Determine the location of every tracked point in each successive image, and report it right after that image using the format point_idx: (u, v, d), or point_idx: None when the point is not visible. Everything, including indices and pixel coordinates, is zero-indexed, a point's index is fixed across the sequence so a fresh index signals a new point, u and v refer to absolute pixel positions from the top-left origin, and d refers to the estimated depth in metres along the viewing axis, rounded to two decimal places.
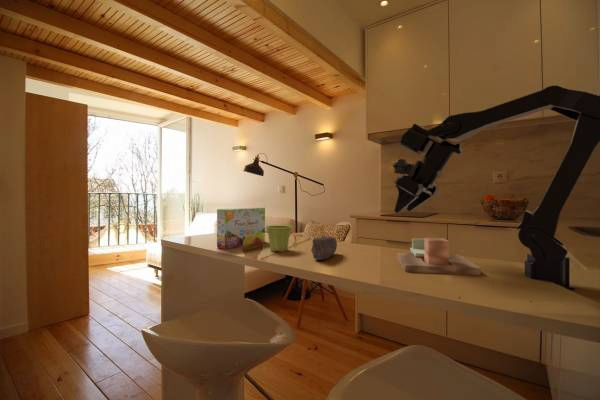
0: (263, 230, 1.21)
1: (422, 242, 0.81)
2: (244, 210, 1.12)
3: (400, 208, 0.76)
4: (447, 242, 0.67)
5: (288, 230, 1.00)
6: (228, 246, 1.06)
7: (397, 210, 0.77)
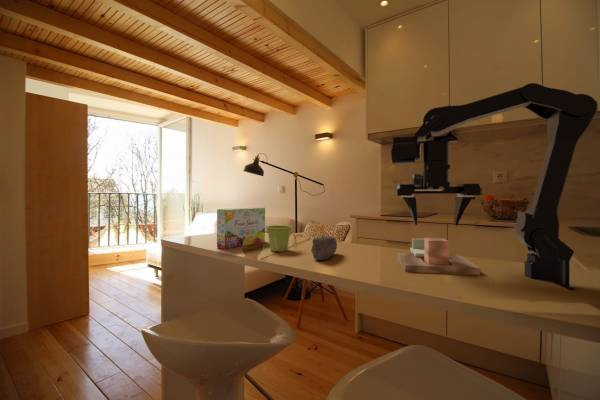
0: (263, 230, 1.20)
1: (422, 242, 0.81)
2: (244, 210, 1.12)
3: (413, 218, 0.70)
4: (447, 242, 0.67)
5: (288, 230, 1.00)
6: (228, 246, 1.06)
7: (414, 222, 0.71)
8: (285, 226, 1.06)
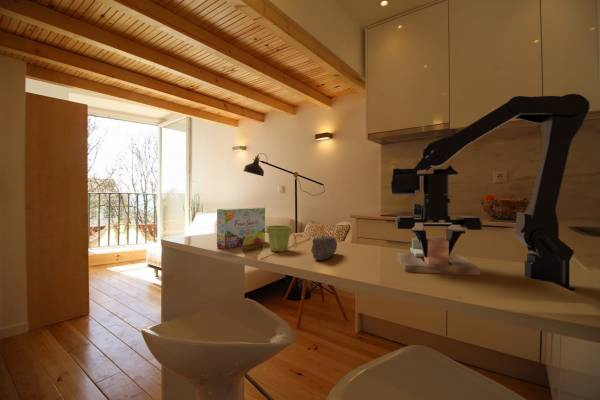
0: (263, 230, 1.20)
1: None
2: (244, 210, 1.12)
3: (423, 250, 0.70)
4: (447, 242, 0.67)
5: (288, 230, 1.00)
6: (228, 246, 1.06)
7: (424, 254, 0.70)
8: (285, 226, 1.06)
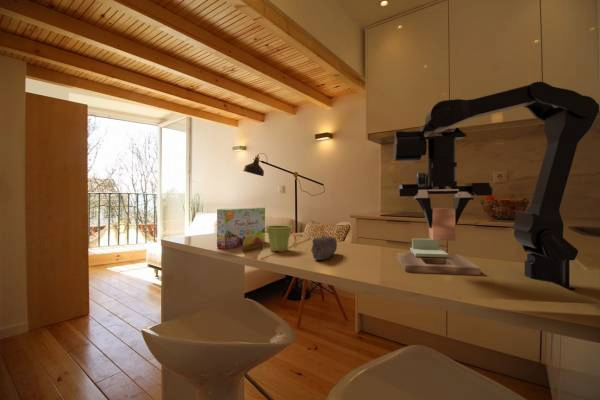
0: (263, 230, 1.20)
1: (422, 242, 0.81)
2: (244, 210, 1.12)
3: (427, 220, 0.65)
4: (453, 210, 0.62)
5: (288, 230, 1.00)
6: (228, 246, 1.06)
7: (428, 224, 0.65)
8: (285, 226, 1.06)
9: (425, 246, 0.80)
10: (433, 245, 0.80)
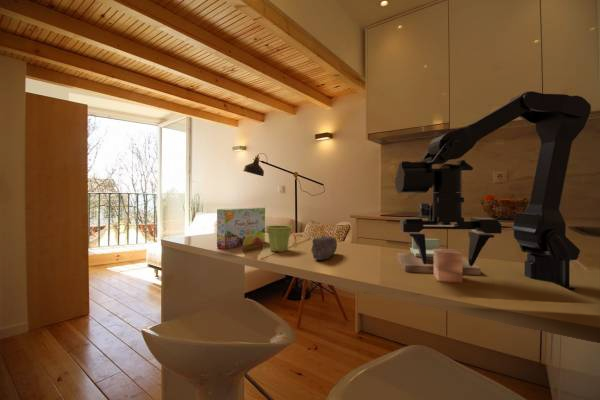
0: (263, 230, 1.20)
1: None
2: (244, 210, 1.12)
3: (421, 257, 0.61)
4: (461, 255, 0.58)
5: (288, 230, 1.00)
6: (228, 246, 1.06)
7: (422, 261, 0.62)
8: (285, 226, 1.06)
9: None
10: (433, 245, 0.80)
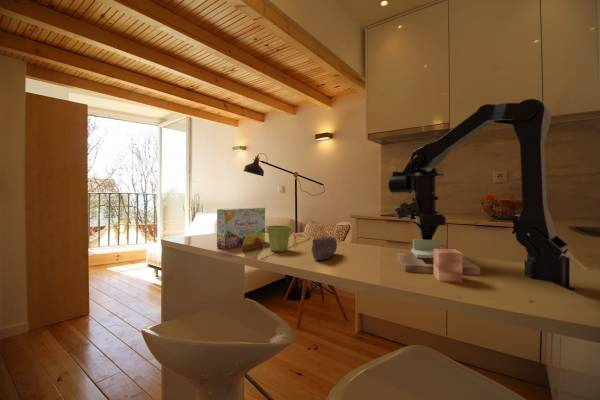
0: (263, 230, 1.20)
1: (423, 243, 0.79)
2: (244, 210, 1.12)
3: None
4: (461, 255, 0.58)
5: (288, 230, 1.00)
6: (228, 246, 1.06)
7: None
8: (285, 226, 1.06)
9: (426, 247, 0.79)
10: (434, 246, 0.79)
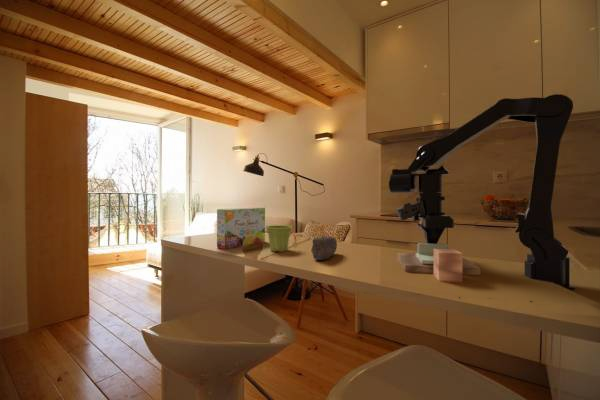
0: (263, 230, 1.20)
1: (429, 247, 0.73)
2: (244, 210, 1.12)
3: None
4: (461, 255, 0.58)
5: (288, 230, 1.00)
6: (228, 246, 1.06)
7: None
8: (285, 226, 1.06)
9: (432, 251, 0.73)
10: None
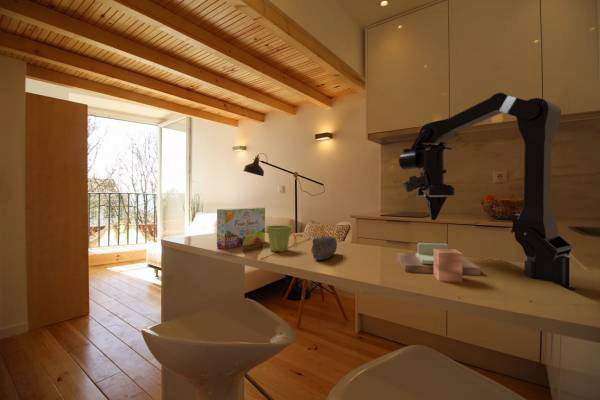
0: (263, 230, 1.20)
1: (429, 247, 0.73)
2: (244, 210, 1.12)
3: (436, 214, 0.83)
4: (461, 255, 0.58)
5: (288, 230, 1.00)
6: (228, 246, 1.06)
7: (434, 217, 0.83)
8: (285, 226, 1.06)
9: (432, 251, 0.73)
10: None
